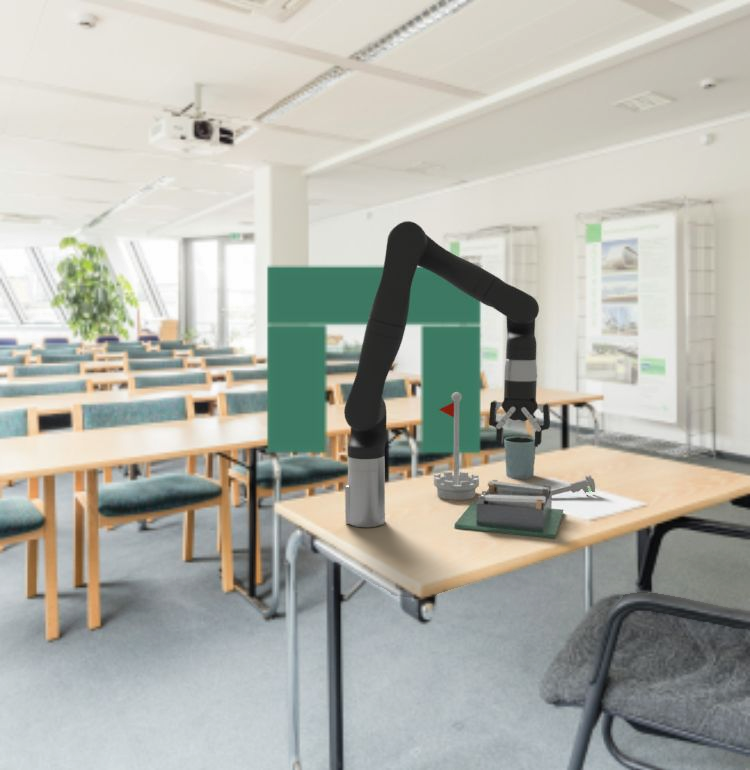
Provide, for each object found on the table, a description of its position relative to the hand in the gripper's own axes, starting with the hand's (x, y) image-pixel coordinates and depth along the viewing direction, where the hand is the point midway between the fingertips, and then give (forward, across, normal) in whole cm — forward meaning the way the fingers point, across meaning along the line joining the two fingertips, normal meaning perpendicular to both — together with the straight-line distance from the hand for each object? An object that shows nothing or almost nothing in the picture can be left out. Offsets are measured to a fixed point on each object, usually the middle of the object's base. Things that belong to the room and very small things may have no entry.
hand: (518, 445), depth 164 cm
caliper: (+21, +8, +32) cm, 39 cm away
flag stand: (+21, -21, +25) cm, 39 cm away
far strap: (+14, -2, +12) cm, 19 cm away
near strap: (+14, -1, 0) cm, 14 cm away
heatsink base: (+21, -2, +6) cm, 22 cm away
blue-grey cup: (+21, -7, +53) cm, 57 cm away
